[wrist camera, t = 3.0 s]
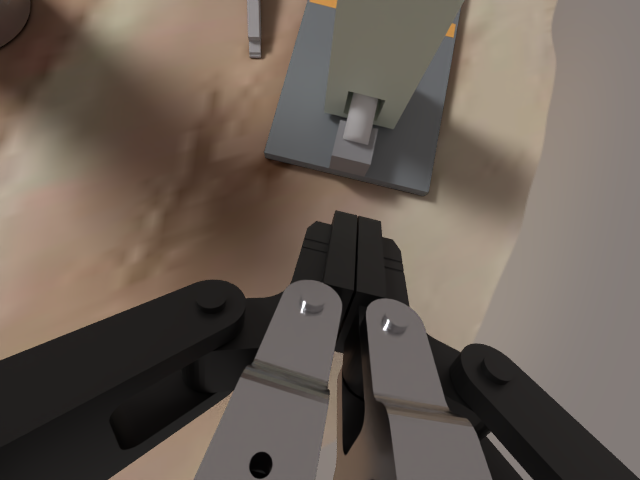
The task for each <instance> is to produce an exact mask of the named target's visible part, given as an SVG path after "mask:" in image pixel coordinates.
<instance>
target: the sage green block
mask: <svg viewBox="0 0 640 480" xmlns="http://www.w3.org/2000/svg"><path fill="white" fill-rule="evenodd" d="M463 2H464V0H337V5H336V14H335V22H334V31H333V40H332V48H331V57H330V65H329V74H328V82H327V91H326V99H325V108H324V112H325V113H329V114H333V115H337V116H341V117H345V118H348V113H349V109H350V105H351V101H352V97H353V92H354V93H358V94H362V95H366V96H370V97H374V98H378V102H377V107H376V112H375V116H374V121H373V124H374V125H378V126H382V127H386V128H390V129H394V128H395V126H396V124H397V122H398V120H399V119H400V117H401V115H402V113H403V111H404V109H405V108H406V106H407V104H408V102H409V100H410V99H411V97H412V95H413V93H414V91H415V89H416V88H417V86H418V84H419V82H420V80H421V79H422V77H423V75H424V73H425V71H426V69H427V68H428V66H429V64H430V62H431V60H432V59H433V57H434V55H435V53H436V51H437V50H438V48H439V46H440V44H441V42H442V40H443V39H444V37H445V35H446V33H447V31H448V30H449V28H450V26H451V24H452V22H453V20H454V19H455V17H456V15H457V13H458V11H459V10H460V8H461V6H462V4H463Z"/></svg>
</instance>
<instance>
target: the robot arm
mask: <svg viewBox="0 0 640 480" xmlns="http://www.w3.org/2000/svg"><path fill="white" fill-rule="evenodd" d="M29 13H30V0H0V47H1V46H3V45H5V44H6V43H8V42H9V41H10V40H12V39H13V38H14V37H15V36H16V35H17V34H18V33H19V32H20V31H21V30H22V28H23V26H24V25H25V23H26V22H27V19H28V16H29ZM403 271H404V270H403V264H402V257H401V251H400V249H399V248H398V246H397V245H396V244H395V242H394V241H393V240H392V239H388V238H384V237H382V230H381V221H378V220H373V219H369V218H365V217H361V216H358V218H357V215H353V214H349V213H345V212H341V211H337V210H336V211H335V213H334V217H333V221H332V224H331V225H330V224H326V223H322V222H318V221H316V222H315V223H313V224H312V225H311V226H309V227H308V228H307V231H306V235H305V238H304V241H303V245H302V248H301V251H300V255H299V258H298V261H297V265H296V268H295V271H294V275H293V278H292V281H291V283H290V285H289V286H288V287H287V288H286V289H285V290H284V291H283V292H281V293H279V294H277V295H275V296H271V297H266V298H245V296H244V294H243V292H242V291H241V290H240V289H239V288H238V287H237V286H235V285H234V284H231V283H229V282H226V281H222V280H205V281H200V282H197V283H194V284H192V285H189V286H187V287H184V288H182V289H179V290H176V291H174V292H171V293H169V294H166V295H164V296H161V297H159V298H156V299H154V300H151V301H149V302H146V303H144V304H141V305H139V306H136V307H134V308H131V309H129V310H126V311H124V312H121V313H119V314H116V315H114V316H111V317H109V318H106V319H103V320H101V321H98V322H96V323H93V324H91V325H88V326H86V327H83V328H81V329H78V330H76V331H73V332H71V333H68V334H66V335H63V336H61V337H58V338H56V339H53V340H51V341H48V342H46V343H43V344H41V345H38V346H36V347H33V348H30V349H28V350H25V351H23V352H20V353H18V354H15V355H13V356H10V357H8V358H5V359H3V360H0V480H108V479H109V478H111V477H112V476H114V475H115V474H117V473H118V472H119V471H121V470H122V469H124V468H125V467H127V466H128V465H129V464H131V463H132V462H134V461H135V460H137V459H138V458H139V457H141V456H142V455H144V454H145V453H147V452H148V451H150V450H151V449H152V448H154V447H155V446H157V445H158V444H160V443H161V442H162V441H164V440H165V439H167V438H168V437H170V436H171V435H172V434H174V433H175V432H177V431H178V430H180V429H181V428H182V427H184V426H185V425H187V424H188V423H190V422H191V421H192V420H194V419H195V418H197V417H198V416H200V415H201V414H203V413H204V412H205V411H207V410H208V409H210V408H211V407H213V406H214V405H215V404H217V403H218V402H220V401H221V400H223V399H224V398H225V397H227V396H228V395H229V394H230V393H231V392H232V391H234V392H233V394H232V396H231V398H230V401H229V403H228V405H227V407H226V409H225V412H224V414H223V416H222V418H221V420H220V423H219V425H218V427H217V429H216V431H215V434H214V436H213V438H212V440H211V442H210V445H209V447H208V449H207V451H206V453H205V456H204V458H203V460H202V462H201V464H200V467H199V469H198V471H197V473H196V475H195V478H194V480H315V477H316V472H317V466H318V461H319V455H320V450H321V444H322V438H323V433H324V427H325V421H326V416H327V410H328V404H329V395H330V391H329V389H328V381H329V375H330V370H331V365H332V360H333V354H334V351H336V352H340V353H343V365H342V367H341V370H340V372H339V375H338V379H337V460H336V468H335V473H334V477H333V480H523V479H522V478H521V477H520V475H519V474H518V473H517V472H516V471H515V470H514V468H513V467H512V466H511V465H510V464H509V462H508V461H507V460H506V459H505V458H504V457H503V455H502V454H501V453H500V452H499V451H498V450H497V448H496V447H495V446H494V445H493V444H492V442H491V441H490V440H489V439H488V438H487V437H486V436H487V434H489V433H490V432H492V433H493V434H494V435H495V436H496V437H497V439H498V440H499V441H500V442H501V443H502V444H503V445H504V447H505V448H506V449H507V450H508V451H509V452H510V454H512V456H513V457H514V458H515V459H516V460H517V462H519V464H520V465H521V466H522V467H523V468H524V469H525V470H526V472H527V473H528V474H529V475H530V476H531V477H532V479H534V480H640V479H639V478H638V477H637V476H636V475H635V474H634V473H633V472H631V471H630V470H629V469H628V468H627V467H626V466H625V465H624V464H623V463H622V462H621V461H620V460H619V459H617V458H616V457H615V456H614V455H613V454H612V453H611V452H610V451H609V450H608V449H607V448H605V447H604V446H603V445H602V444H601V443H600V442H599V441H598V440H597V439H596V438H595V437H594V436H593V435H592V434H590V433H589V432H588V431H587V430H586V429H585V428H584V427H583V426H582V425H581V424H580V423H579V422H577V421H576V420H575V419H574V418H573V417H572V416H571V415H570V414H569V413H568V412H567V411H566V410H564V409H563V408H562V407H561V406H560V405H559V404H558V403H557V402H556V401H555V400H554V399H553V398H552V397H550V396H549V395H548V394H547V393H546V392H545V391H544V390H543V389H542V388H541V387H540V386H539V385H538V384H536V383H535V382H534V381H533V380H532V379H531V378H530V377H529V376H528V375H527V374H526V373H525V372H523V371H522V370H521V369H520V368H519V367H518V366H517V365H516V364H515V363H514V362H512V361H511V360H510V359H509V358H508V357H507V356H505V355H504V354H503V353H501V352H500V351H498V350H496V349H494V348H492V347H490V346H487V345H484V344H470V345H467V346H466V347H465V348H464V349H463V350H462V351H461V352H459V351H457V350H455V349H453V348H451V347H449V346H448V345H446V344H444V343H442V342H440V341H438V340H436V339H434V338H433V337H431V336H430V335H428V334H427V333H426V330H425V327H424V324H423V322H422V320H421V318H420V317H419V316H418V314H417V313H416V312H415V311H414V310H413V309H411V308H410V307H409V301H408V295H407V288H406V282H405V276H404V273H403Z"/></svg>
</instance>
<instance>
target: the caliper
mask: <svg viewBox="0 0 640 480" xmlns="http://www.w3.org/2000/svg"><path fill="white" fill-rule="evenodd" d="M247 11H248V38H249V53H250V58H261V10H260V0H247Z"/></svg>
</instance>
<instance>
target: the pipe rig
mask: <svg viewBox="0 0 640 480" xmlns="http://www.w3.org/2000/svg"><path fill="white" fill-rule="evenodd" d="M336 5H337V0H308V1H307V4H306V8H305V11H304V15H303V18H302V22H301V25H300V29H299V32H298V36H297V39H296V43H295V46H294V50H293V53H292V57H291V60H290V64H289V67H288V71H287V74H286V78H285V81H284V85H283V88H282V92H281V95H280V99H279V102H278V106H277V109H276V113H275V116H274V119H273V123H272V126H271V130H270V133H269V137H268V140H267V144H266V147H265V151H264V154H265V158H269V159H273V160H277V161H281V162H285V163H289V164H293V165H298V166H302V167H306V168H310V169H314V170H318V171H322V172H326V173H331V174H335V175H339V176H343V177H347V178H351V179H355V180H359V181H364V182H368V183H372V184H376V185H380V186H384V187H388V188H393V189H397V190H401V191H405V192H409V193H413V194H417V195H421V196H425V195H426V194H427V193H428V192H429V187H430V182H431V176H432V170H433V164H434V159H435V153H436V147H437V141H438V136H439V130H440V124H441V118H442V113H443V107H444V101H445V95H446V90H447V84H448V78H449V73H450V67H451V61H452V55H453V50H454V44H455V38H456V32H457V27H458V21H459V15H460V10H459V11H458V13H457V15H456V17H455V19H454V20H453V22H452V24H451V26H450V28H449V30H448V31H447V33H446V35H445V37H444V39H443V40H442V42H441V44H440V46H439V48H438V50H437V51H436V53H435V55H434V57H433V59H432V60H431V62H430V64H429V66H428V68H427V69H426V71H425V73H424V75H423V77H422V79H421V80H420V82H419V84H418V86H417V88H416V89H415V91H414V93H413V95H412V97H411V99H410V100H409V102H408V104H407V106H406V108H405V109H404V111H403V113H402V115H401V117H400V119H399V120H398V122H397V124H396V126H395V128H394V129H390V128H386V127H382V126H378V125H374V124H373V121H374V116H375V112H376V107H377V102H378V98H374V97H370V96H366V95H362V94H358V93H354V92H353V97H352V101H351V105H350V109H349V113H348V118H345V117H341V116H337V115H333V114H329V113H325V112H324V108H325V99H326V91H327V82H328V74H329V65H330V57H331V48H332V40H333V31H334V22H335V14H336ZM460 9H461V8H460Z"/></svg>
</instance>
